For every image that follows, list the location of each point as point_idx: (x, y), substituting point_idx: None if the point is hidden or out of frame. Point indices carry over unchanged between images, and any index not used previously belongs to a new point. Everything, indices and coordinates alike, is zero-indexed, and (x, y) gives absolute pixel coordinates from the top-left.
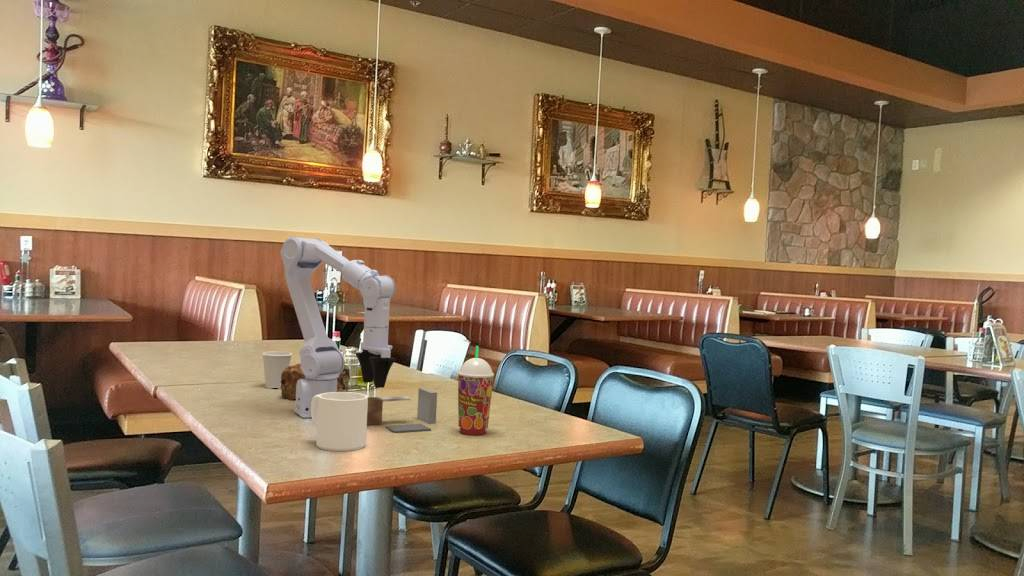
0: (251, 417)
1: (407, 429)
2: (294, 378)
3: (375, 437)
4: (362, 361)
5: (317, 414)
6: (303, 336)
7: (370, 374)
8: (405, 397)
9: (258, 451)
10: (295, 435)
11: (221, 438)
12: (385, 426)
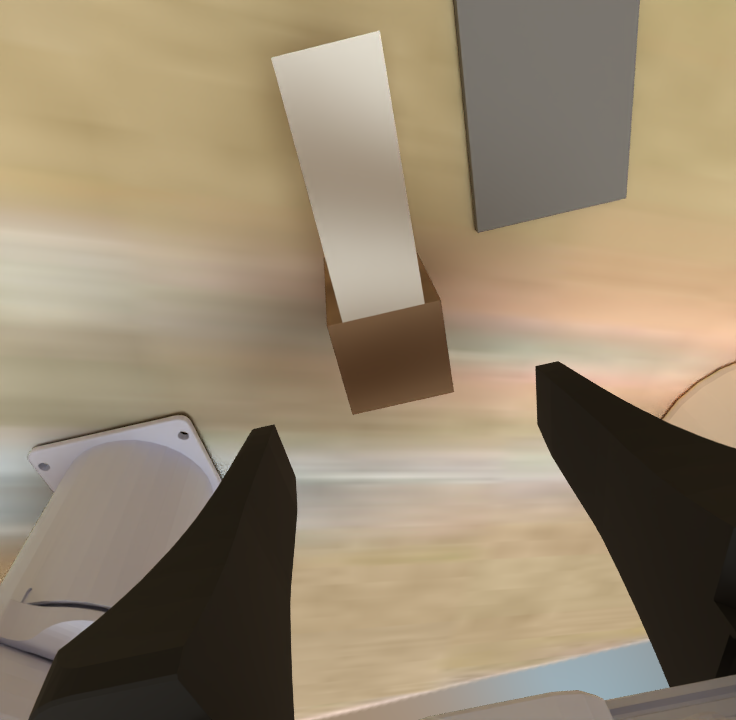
0: None
1: (609, 107)
2: None
3: (670, 299)
4: (289, 674)
5: None
6: None
7: (272, 492)
8: (345, 83)
9: None
10: (535, 541)
11: (520, 664)
12: (488, 229)
